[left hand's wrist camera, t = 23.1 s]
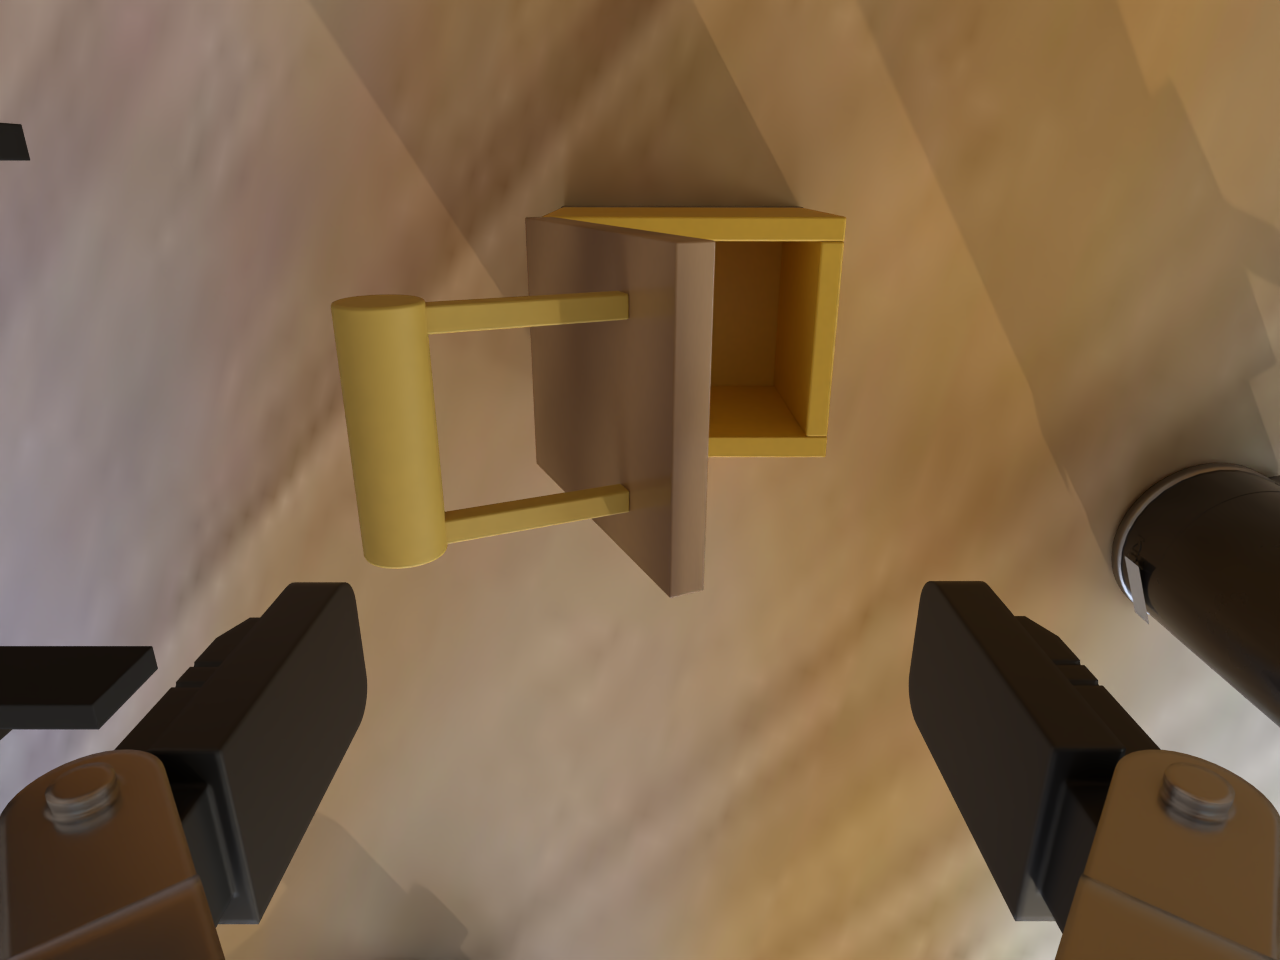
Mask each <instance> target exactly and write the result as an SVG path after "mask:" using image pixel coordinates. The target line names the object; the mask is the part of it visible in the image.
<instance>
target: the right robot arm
mask: <svg viewBox="0 0 1280 960" xmlns="http://www.w3.org/2000/svg"><path fill="white" fill-rule="evenodd" d="M0 160H30V157H29V153H28V149H27V145H26V141H25V137H24V133H23V129H22V125H21V124H9V123H0ZM157 669H158V667H157V663H156V659H155V655H154V651H153V647H152V646H0V740H1V739H2V738H3V737H4V736H5V735H7V734H8V733H9V732H10V731H11V730H12V729H100V728H101V727H102V726H103V725H104V724H105V723H106V721H107V720H108V719H109V718H110V717H111V716H112V715H113V714H114V713H115V712H116V711H117V710H118V709H119V708H120V707H121V706H122V705H123V704H124V703H125V702H126V701H127V700H128V699H129V698H130V697H131V696H132V695H133V694H134V693H135V692H136V691H137V690H138V689H139V688H140V687H141V686H142V685H143V683H144V682H145V681H146V680H147V679H148V678H149V677H150V676H151V675H152V674H153V673H154V672H155V671H156V670H157Z"/></svg>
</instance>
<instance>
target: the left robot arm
mask: <svg viewBox="0 0 1280 960" xmlns="http://www.w3.org/2000/svg"><path fill="white" fill-rule="evenodd" d="M1112 568H1113V573H1114V576H1115V579H1116V581H1117V583H1118V586H1119V587H1120V589H1121V590H1122V592H1123V593H1124V594H1125V595H1126V597H1128V598H1129V599H1130V600H1131V601H1132V602H1133V604H1134V609H1135V612H1136V613H1137V614H1138V615H1139V616H1140V617H1141V618H1142V619H1143V620H1145V621H1146V622H1147V623H1148V624H1149V622H1148V616H1147V613H1148V614H1149V615H1151V616H1152V617H1153V618H1154V619H1155V620H1157V621H1158V622H1159V623H1160V624H1161V625H1162V626H1164V627H1165V628H1166V629H1167V630H1168V631H1169V632H1170V633H1171V634H1172V635H1174V636H1175V637H1176V638H1177V639H1178V640H1179V641H1180V642H1182V643H1183V644H1184V645H1185V646H1186V647H1187V648H1189V649H1190V650H1191V651H1192V652H1193V653H1194V654H1196V655H1197V656H1198V657H1199V658H1200V659H1201V660H1202V661H1204V662H1205V663H1206V664H1207V665H1208V666H1209V667H1211V668H1212V669H1213V670H1214V671H1215V672H1216V673H1218V674H1219V675H1220V676H1221V677H1222V678H1223V679H1224V680H1226V681H1227V682H1228V683H1229V684H1230V685H1231V686H1233V687H1234V688H1235V689H1236V690H1237V691H1238V692H1239V693H1241V694H1242V695H1243V696H1244V697H1245V698H1246V699H1248V700H1249V701H1250V702H1251V703H1252V704H1253V705H1255V706H1256V707H1257V708H1258V709H1259V710H1260V711H1261V712H1263V713H1264V714H1265V715H1266V716H1267V717H1268V718H1270V719H1271V720H1272V721H1273V722H1274V723H1275V724H1276V725H1278V726H1279V727H1280V476H1275V477H1266V476H1264V475H1262V474H1260V473H1258V472H1256V471H1254V470H1251V469H1249V468H1246V467H1243V466H1240V465H1235V464H1228V463H1211V464H1203V465H1198V466H1194V467H1190V468H1187V469H1184V470H1181V471H1179V472H1176V473H1174V474H1172V475H1170V476H1168V477H1166V478H1164V479H1163V480H1161V481H1160V482H1158V483H1157V484H1155V485H1154V486H1152V487H1151V488H1150V489H1149V490H1147V491H1146V492H1145V493H1144V494H1143V495H1142V496H1141V497H1140V498H1139V499H1138V500H1137V501H1136V502H1135V503H1134V504H1133V505H1132V507H1131V508H1130V509H1129V511H1128V512H1127V513H1126V515H1125V517H1124V518H1123V520H1122V522H1121V524H1120V526H1119V528H1118V530H1117V533H1116V535H1115V539H1114V543H1113V548H1112ZM366 698H367V676H366V669H365V662H364V655H363V648H362V641H361V634H360V627H359V620H358V613H357V606H356V600H355V595H354V592H353V589H352V587H351V586H350V585H349V584H348V583H346V582H295V583H291V584H289V585H288V586H287V587H286V588H285V589H284V591H283V592H282V593H281V594H280V595H279V596H278V598H277V599H276V600H275V601H274V602H273V603H272V605H271V606H270V607H269V608H268V609H267V610H266V612H265V613H264V614H263V615H262V616H261V617H260V618H249V619H247V620H245V621H244V622H242V623H240V624H239V625H237V626H236V627H234V628H232V629H231V630H229V631H227V632H226V633H224V634H222V635H221V636H219V637H217V638H216V639H215V640H214V641H213V642H212V643H211V644H210V646H209V647H208V648H207V649H206V650H205V651H204V652H203V653H202V654H201V655H200V657H199V658H198V659H197V660H196V661H195V662H194V667H189V669H188V670H187V671H186V672H185V673H184V674H183V675H182V676H181V677H180V678H179V680H178V681H177V682H176V687H171V688H170V689H169V691H168V692H167V693H166V694H165V695H164V696H163V697H162V698H161V699H160V700H159V701H158V703H157V704H156V705H155V706H154V707H153V708H152V709H151V710H150V711H149V712H148V714H147V715H146V716H145V717H144V718H143V719H142V720H141V721H140V722H139V723H138V725H137V726H136V727H135V728H134V729H133V730H132V731H131V732H130V733H129V734H128V735H127V737H126V738H125V739H124V740H123V741H122V742H121V743H120V744H119V745H118V746H117V748H116V749H115V750H113V751H105V752H101V753H96V754H92V755H89V756H85V757H82V758H79V759H76V760H74V761H71V762H68V763H66V764H64V765H62V766H59V767H57V768H55V769H53V770H51V771H49V772H48V773H46V774H44V775H42V776H41V777H39V778H37V779H36V780H35V781H33V782H32V783H30V784H29V785H27V786H26V787H25V788H24V789H23V790H21V791H20V792H19V793H18V794H17V795H16V796H15V797H14V798H13V799H12V800H11V801H10V802H9V803H8V805H7V806H6V807H5V809H4V810H3V812H2V814H1V816H0V960H225V958H224V954H223V951H222V948H221V944H220V941H219V938H218V935H217V931H216V927H217V925H218V924H259V922H260V920H261V918H262V916H263V914H264V912H265V910H266V908H267V906H268V904H269V903H270V901H271V899H272V897H273V895H274V893H275V891H276V889H277V887H278V885H279V883H280V881H281V879H282V877H283V875H284V873H285V871H286V869H287V867H288V865H289V863H290V861H291V859H292V857H293V855H294V853H295V851H296V849H297V847H298V845H299V843H300V842H301V840H302V838H303V836H304V834H305V832H306V830H307V828H308V826H309V824H310V822H311V820H312V818H313V816H314V814H315V812H316V810H317V808H318V806H319V804H320V802H321V800H322V798H323V796H324V794H325V792H326V790H327V788H328V786H329V784H330V782H331V781H332V779H333V777H334V775H335V773H336V771H337V769H338V767H339V765H340V763H341V761H342V759H343V757H344V755H345V753H346V751H347V749H348V747H349V745H350V743H351V741H352V739H353V737H354V735H355V733H356V731H357V729H358V727H359V725H360V723H361V721H362V718H363V714H364V710H365V705H366ZM909 698H910V704H911V710H912V713H913V717H914V720H915V722H916V724H917V726H918V728H919V730H920V732H921V734H922V736H923V738H924V740H925V742H926V744H927V746H928V748H929V750H930V752H931V754H932V756H933V758H934V760H935V762H936V764H937V766H938V768H939V770H940V772H941V774H942V776H943V778H944V780H945V782H946V784H947V786H948V788H949V790H950V792H951V794H952V796H953V798H954V800H955V802H956V804H957V806H958V808H959V810H960V812H961V814H962V816H963V818H964V820H965V822H966V824H967V826H968V828H969V830H970V832H971V834H972V836H973V838H974V840H975V842H976V844H977V846H978V848H979V850H980V852H981V854H982V856H983V858H984V860H985V862H986V864H987V866H988V868H989V870H990V872H991V874H992V876H993V878H994V880H995V882H996V884H997V886H998V888H999V890H1000V892H1001V894H1002V896H1003V898H1004V900H1005V902H1006V904H1007V905H1008V907H1009V909H1010V911H1011V913H1012V915H1013V917H1014V919H1015V921H1056V923H1057V925H1058V926H1059V928H1060V930H1061V932H1062V934H1063V935H1062V938H1061V941H1060V944H1059V948H1058V951H1057V954H1056V957H1055V960H1280V816H1279V814H1278V812H1277V810H1276V809H1275V807H1274V806H1273V805H1272V803H1271V802H1270V801H1269V800H1268V799H1267V798H1266V797H1265V796H1264V795H1263V794H1262V793H1261V792H1260V791H1259V790H1257V789H1256V788H1255V787H1254V786H1253V785H1251V784H1250V783H1248V782H1247V781H1245V780H1244V779H1243V778H1241V777H1239V776H1238V775H1236V774H1234V773H1232V772H1231V771H1229V770H1227V769H1225V768H1223V767H1221V766H1218V765H1216V764H1214V763H1212V762H1209V761H1206V760H1204V759H1201V758H1198V757H1195V756H1191V755H1188V754H1184V753H1179V752H1175V751H1167V750H1161V749H1160V748H1159V747H1158V746H1157V745H1156V744H1155V743H1154V742H1153V741H1152V739H1151V738H1150V737H1149V736H1148V735H1147V734H1146V733H1145V732H1144V731H1143V730H1142V728H1141V727H1140V726H1139V725H1138V724H1137V723H1136V722H1135V721H1134V720H1133V718H1132V717H1131V716H1130V715H1129V714H1128V713H1127V712H1126V711H1125V710H1124V708H1123V707H1122V706H1121V705H1120V704H1119V703H1118V702H1117V701H1116V700H1115V699H1114V697H1113V696H1112V695H1111V694H1110V693H1109V692H1108V691H1107V690H1106V689H1105V687H1104V686H1099V685H1098V680H1097V679H1096V678H1095V676H1094V675H1093V674H1092V673H1091V672H1090V671H1089V670H1088V669H1087V668H1086V666H1085V665H1080V660H1079V659H1078V658H1077V656H1076V655H1075V654H1074V653H1073V652H1072V651H1071V650H1070V649H1069V648H1068V647H1067V645H1066V644H1065V643H1064V642H1063V641H1062V640H1061V639H1060V638H1059V637H1058V636H1057V635H1055V634H1053V633H1052V632H1050V631H1048V630H1047V629H1045V628H1044V627H1042V626H1040V625H1039V624H1037V623H1035V622H1034V621H1032V620H1030V619H1029V618H1027V617H1025V616H1014V615H1013V614H1012V613H1011V611H1010V610H1009V609H1008V608H1007V607H1006V606H1005V604H1004V603H1003V602H1002V601H1001V600H1000V598H999V597H998V596H997V595H996V594H995V593H994V591H993V590H992V589H991V588H990V587H989V586H988V585H987V584H986V583H985V582H983V581H929V582H927V583H926V584H925V585H924V587H923V589H922V593H921V597H920V603H919V610H918V617H917V624H916V631H915V638H914V645H913V652H912V659H911V667H910V674H909Z"/></svg>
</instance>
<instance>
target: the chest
mask: <svg viewBox="0 0 1280 960" xmlns="http://www.w3.org/2000/svg"><path fill="white" fill-rule="evenodd" d="M543 217H557V218H563V219H570V220H577V221H584V222H591V223H598V224H605V225H612V226H618V227H625V228H632V229H639V230H646V231H653V232H660V233H667V234H673V235H680V236H687V237H694V238H701V239H708V240H714V241H715V269H714V298H713V328H712V357H711V387H710V416H709V445H708V457H825V455H826V443H827V437H826V435H827V429H828V418H829V407H830V395H831V384H832V373H833V362H834V350H835V339H836V328H837V316H838V305H839V294H840V283H841V271H842V260H843V249H844V243H843V242H842V241H844V239H845V227H846V217H843V216H838V215H834V214H829V213H824V212H819V211H815V210H810V209H805V208H803V207H695V206H563V207H561V208H560V209H558V210H556V211H554V212H552V213H549V214H547V215H545V216H543Z"/></svg>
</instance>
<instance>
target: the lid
mask: <svg viewBox="0 0 1280 960" xmlns="http://www.w3.org/2000/svg"><path fill="white" fill-rule="evenodd" d="M525 224H526V246H527V267H528V289H529V296H522V297H505V298H488V299H471V300H455V301H438V302H425V301H424V300H423V299H422V298H419V297H416V296H409V295H367V296H356V297H349V298H344V299H340V300H337V301H334V302H333V303H332V304H331V312H332V320H333V327H334V335H335V342H336V350H337V357H338V365H339V372H340V379H341V387H342V394H343V402H344V409H345V417H346V424H347V432H348V439H349V447H350V454H351V462H352V469H353V477H354V484H355V492H356V499H357V507H358V514H359V522H360V529H361V537H362V544H363V552H364V557H365V558H366V560H367V561H368V562H369V563H371V564H372V565H375V566H378V567H382V568H391V569H400V568H410V567H415V566H420V565H423V564H426V563H429V562H432V561H434V560H436V559H437V558H439V557H440V556H442V555H443V554H444V552H445V551H446V549H447V544H449V543H455V542H461V541H466V540H472V539H478V538H484V537H489V536H495V535H501V534H506V533H512V532H518V531H523V530H529V529H535V528H540V527H546V526H552V525H557V524H563V523H569V522H574V521H580V520H586V519H592V520H593V521H594V522H595V523H596V524H597V525H598V526H599V527H600V528H601V529H602V530H603V531H604V532H605V533H606V534H607V535H608V536H609V537H610V538H611V539H612V540H613V541H614V542H615V543H616V544H617V545H618V546H619V547H620V548H621V549H622V550H623V551H624V552H625V553H626V554H627V555H628V556H629V557H630V558H631V559H632V560H633V561H634V562H635V563H636V564H637V565H638V566H639V567H640V568H641V569H642V570H643V571H644V572H645V573H646V574H647V575H648V576H649V577H650V578H651V579H652V580H653V581H654V582H655V583H656V584H657V585H658V586H659V587H660V588H661V589H662V590H663V591H664V592H665V593H666V594H667V595H668V596H669V597H670V598H672V597H676V596H681V595H685V594H690V593H694V592H699V591H703V589H704V563H705V534H706V504H707V475H708V445H709V416H710V387H711V357H712V328H713V298H714V269H715V241H714V240H708V239H701V238H694V237H687V236H680V235H673V234H667V233H660V232H653V231H646V230H639V229H632V228H625V227H618V226H612V225H605V224H598V223H591V222H584V221H577V220H570V219H563V218H557V217H526V218H525ZM520 327H530V332H531V353H532V375H533V396H534V418H535V439H536V460H537V464H538V465H539V466H540V467H541V468H542V469H543V470H544V471H545V472H546V473H547V474H548V475H549V476H550V477H551V478H552V479H553V480H554V481H555V482H556V483H557V484H558V485H559V486H560V487H561V488H562V489H563V490H564V491H565V492H566V493H560V494H553V495H547V496H541V497H535V498H528V499H522V500H516V501H510V502H503V503H497V504H491V505H485V506H479V507H472V508H466V509H460V510H454V511H447V512H444V501H443V490H442V480H441V469H440V458H439V447H438V436H437V425H436V414H435V403H434V393H433V382H432V371H431V360H430V349H429V338H428V334H440V333H454V332H467V331H480V330H494V329H507V328H520Z"/></svg>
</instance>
